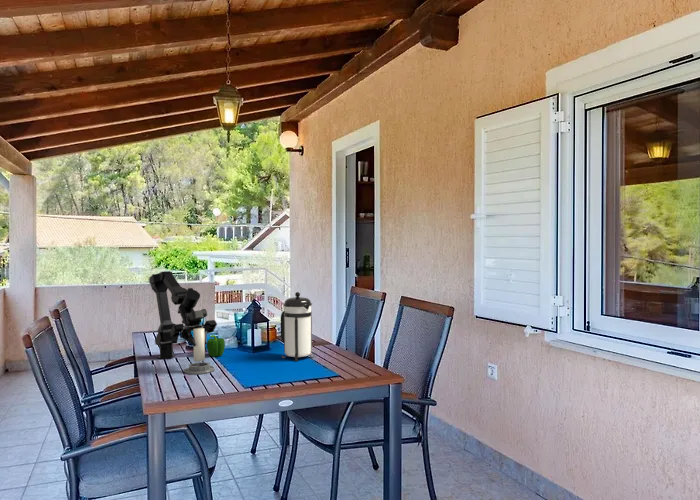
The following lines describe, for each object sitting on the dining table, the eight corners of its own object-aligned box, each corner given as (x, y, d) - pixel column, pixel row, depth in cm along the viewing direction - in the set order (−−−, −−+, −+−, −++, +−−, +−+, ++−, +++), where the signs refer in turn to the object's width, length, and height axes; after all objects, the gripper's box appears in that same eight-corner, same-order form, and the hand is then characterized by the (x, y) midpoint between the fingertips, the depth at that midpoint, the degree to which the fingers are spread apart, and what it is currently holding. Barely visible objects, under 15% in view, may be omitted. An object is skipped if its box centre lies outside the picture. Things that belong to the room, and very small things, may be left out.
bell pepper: (221, 353, 253) (221, 332, 252) (227, 356, 246) (227, 334, 246) (204, 355, 248) (203, 334, 248) (209, 358, 241) (209, 336, 241)
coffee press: (317, 353, 249) (316, 290, 249) (311, 361, 233) (310, 293, 233) (281, 353, 251) (280, 290, 250) (273, 361, 235) (272, 293, 234)
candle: (198, 358, 222) (198, 327, 221) (206, 359, 220) (206, 328, 220) (191, 360, 218) (191, 329, 217) (200, 361, 216) (199, 330, 216)
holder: (189, 367, 225) (189, 361, 225) (217, 367, 225) (217, 361, 225) (180, 374, 213) (180, 368, 213) (209, 374, 213) (209, 368, 213)
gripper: (172, 305, 215) (184, 336, 207) (214, 301, 227) (227, 330, 219) (165, 322, 221) (176, 352, 213) (206, 317, 233) (218, 346, 226)
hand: (200, 344), depth 218 cm, fingers closed on candle, 4 cm apart
